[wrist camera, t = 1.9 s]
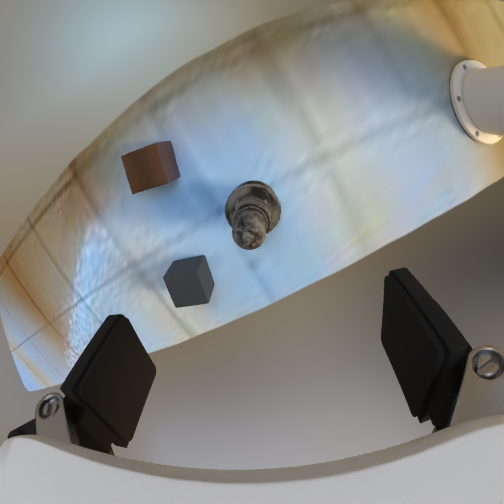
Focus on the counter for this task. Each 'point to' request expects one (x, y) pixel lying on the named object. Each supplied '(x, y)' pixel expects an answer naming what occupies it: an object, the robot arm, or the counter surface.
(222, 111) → the counter surface
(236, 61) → the counter surface
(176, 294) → the slate block
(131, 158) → the walnut block
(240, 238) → the stone chess piece
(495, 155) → the counter surface
